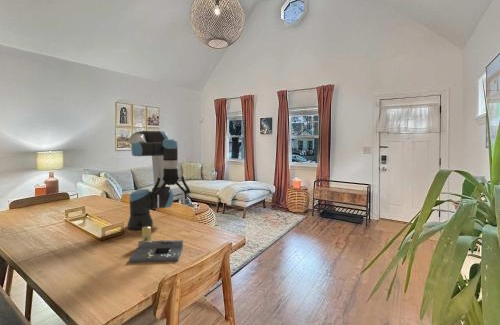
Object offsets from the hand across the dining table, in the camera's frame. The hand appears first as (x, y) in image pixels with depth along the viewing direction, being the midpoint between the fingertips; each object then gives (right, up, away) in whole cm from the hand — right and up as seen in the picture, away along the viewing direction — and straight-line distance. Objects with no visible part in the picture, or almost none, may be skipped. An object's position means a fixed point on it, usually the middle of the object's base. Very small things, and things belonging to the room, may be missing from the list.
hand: (171, 206), depth 141 cm
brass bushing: (-12, -20, -4) cm, 24 cm away
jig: (-2, -22, -15) cm, 26 cm away
